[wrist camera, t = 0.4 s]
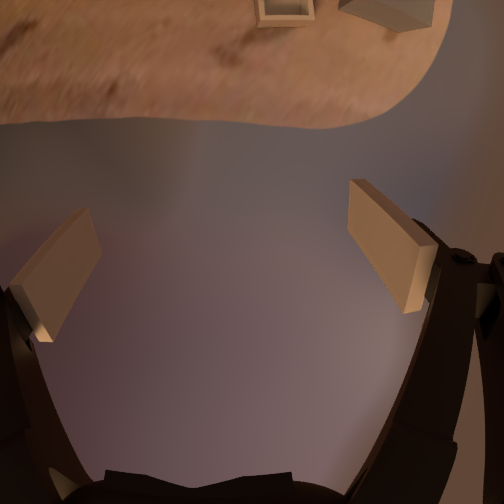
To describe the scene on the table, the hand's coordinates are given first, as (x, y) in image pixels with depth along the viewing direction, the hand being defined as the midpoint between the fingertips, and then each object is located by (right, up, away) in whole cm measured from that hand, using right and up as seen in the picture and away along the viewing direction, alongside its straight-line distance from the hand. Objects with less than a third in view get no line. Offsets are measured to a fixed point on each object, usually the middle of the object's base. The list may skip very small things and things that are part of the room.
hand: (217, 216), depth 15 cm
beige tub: (+5, +28, +14) cm, 32 cm away
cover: (+18, +32, +12) cm, 38 cm away
